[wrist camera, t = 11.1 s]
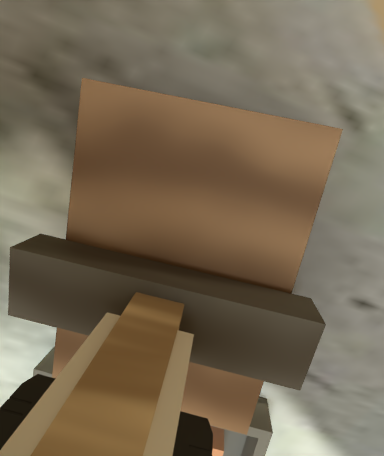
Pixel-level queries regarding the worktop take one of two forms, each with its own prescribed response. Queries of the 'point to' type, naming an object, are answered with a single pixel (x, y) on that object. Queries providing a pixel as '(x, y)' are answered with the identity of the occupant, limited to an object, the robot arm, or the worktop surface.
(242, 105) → the worktop surface
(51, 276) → the scraper
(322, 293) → the worktop surface
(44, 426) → the robot arm
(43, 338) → the worktop surface
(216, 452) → the tile
